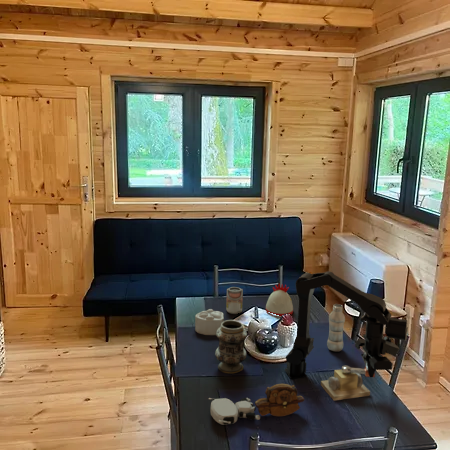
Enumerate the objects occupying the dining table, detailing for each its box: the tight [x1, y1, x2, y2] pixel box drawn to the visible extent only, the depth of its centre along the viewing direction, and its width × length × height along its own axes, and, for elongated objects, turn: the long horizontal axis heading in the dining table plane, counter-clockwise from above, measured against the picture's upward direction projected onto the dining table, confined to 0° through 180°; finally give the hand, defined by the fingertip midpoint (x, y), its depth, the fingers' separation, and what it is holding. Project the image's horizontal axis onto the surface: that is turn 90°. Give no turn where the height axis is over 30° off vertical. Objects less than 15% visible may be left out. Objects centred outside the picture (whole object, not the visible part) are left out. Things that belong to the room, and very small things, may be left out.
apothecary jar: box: [214, 319, 248, 375], centre depth 170 cm, size 12×12×18 cm
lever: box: [341, 365, 376, 378], centre depth 156 cm, size 11×3×2 cm, turn 83°
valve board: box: [320, 368, 371, 401], centre depth 157 cm, size 14×10×7 cm
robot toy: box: [208, 397, 261, 425], centre depth 142 cm, size 12×4×15 cm
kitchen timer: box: [265, 283, 294, 316], centre depth 225 cm, size 14×14×15 cm
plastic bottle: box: [326, 303, 346, 353], centre depth 185 cm, size 6×7×20 cm
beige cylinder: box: [225, 286, 244, 315], centre depth 224 cm, size 9×8×12 cm
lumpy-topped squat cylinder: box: [194, 308, 225, 336], centre depth 203 cm, size 10×13×9 cm
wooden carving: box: [254, 383, 305, 417], centre depth 142 cm, size 16×5×10 cm, turn 106°
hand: (371, 376), depth 153 cm, fingers closed
